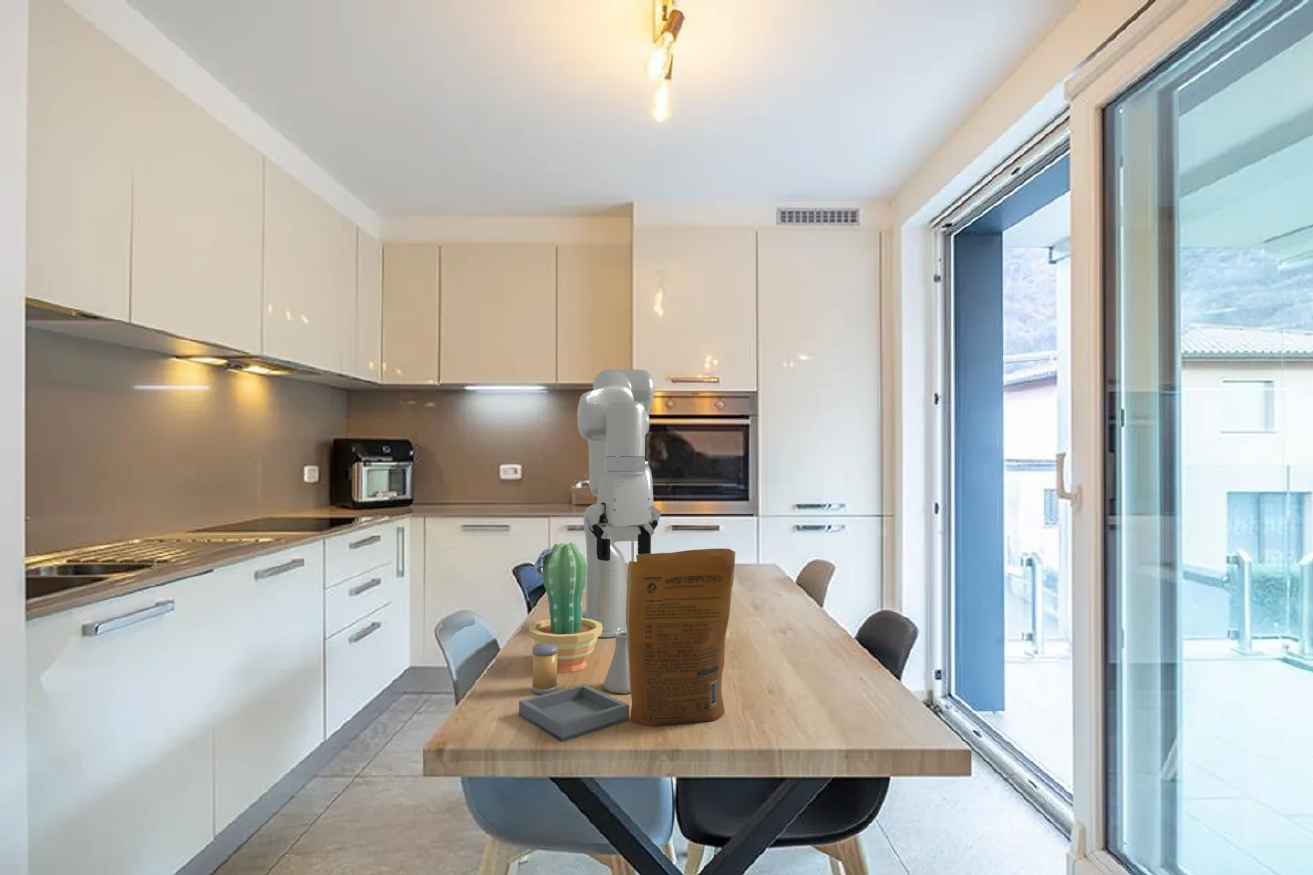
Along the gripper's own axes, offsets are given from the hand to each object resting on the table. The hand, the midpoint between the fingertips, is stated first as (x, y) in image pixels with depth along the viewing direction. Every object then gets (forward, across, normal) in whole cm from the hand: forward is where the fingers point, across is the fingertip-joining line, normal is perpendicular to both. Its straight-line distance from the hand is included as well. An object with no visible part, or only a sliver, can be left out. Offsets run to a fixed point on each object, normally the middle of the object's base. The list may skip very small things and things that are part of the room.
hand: (624, 557), depth 123 cm
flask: (+24, 0, 0) cm, 24 cm away
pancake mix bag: (+24, +2, +18) cm, 30 cm away
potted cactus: (+24, +1, -18) cm, 30 cm away
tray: (+24, +15, +6) cm, 29 cm away
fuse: (+24, +12, -8) cm, 28 cm away
